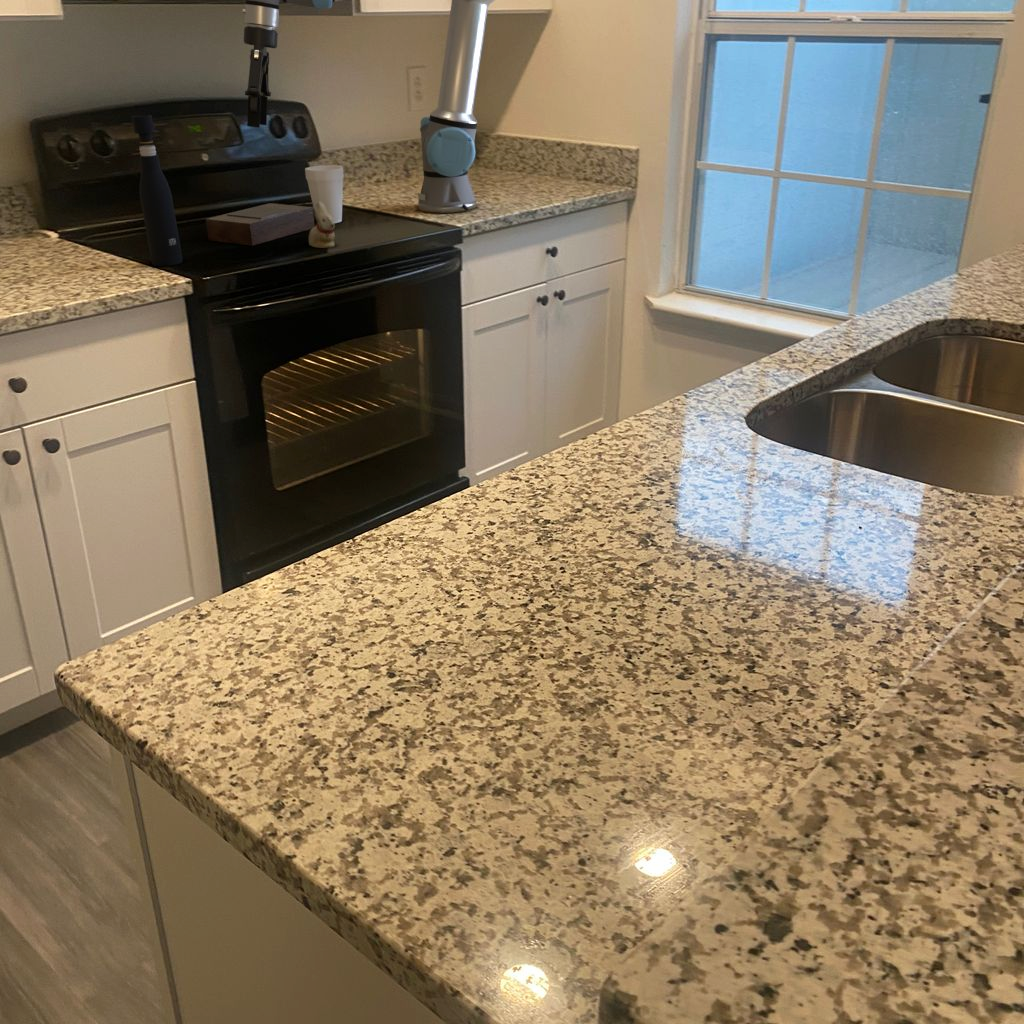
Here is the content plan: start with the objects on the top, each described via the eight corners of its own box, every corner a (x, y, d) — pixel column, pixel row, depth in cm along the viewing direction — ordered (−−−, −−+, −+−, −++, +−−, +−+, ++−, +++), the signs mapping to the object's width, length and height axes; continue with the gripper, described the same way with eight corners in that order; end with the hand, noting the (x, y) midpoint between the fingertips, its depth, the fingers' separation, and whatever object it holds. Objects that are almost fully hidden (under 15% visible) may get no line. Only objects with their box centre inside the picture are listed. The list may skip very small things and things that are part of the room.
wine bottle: (158, 259, 226) (131, 114, 212) (186, 259, 226) (162, 113, 212) (148, 266, 220) (120, 117, 207) (177, 266, 220) (151, 117, 206)
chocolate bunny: (314, 249, 231) (309, 204, 226) (307, 243, 237) (301, 198, 233) (338, 247, 232) (333, 202, 228) (330, 240, 239) (326, 196, 235)
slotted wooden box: (314, 227, 253) (312, 206, 251) (252, 245, 237) (249, 222, 234) (272, 223, 260) (269, 202, 257) (208, 240, 243) (205, 218, 241)
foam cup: (352, 217, 264) (347, 165, 258) (343, 224, 256) (338, 170, 250) (316, 217, 265) (310, 165, 259) (306, 225, 257) (300, 171, 251)
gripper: (251, 27, 246) (247, 121, 254) (236, 22, 223) (233, 125, 231) (283, 32, 247) (278, 125, 255) (271, 27, 224) (267, 130, 232)
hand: (257, 125), depth 243 cm, fingers open, 13 cm apart
